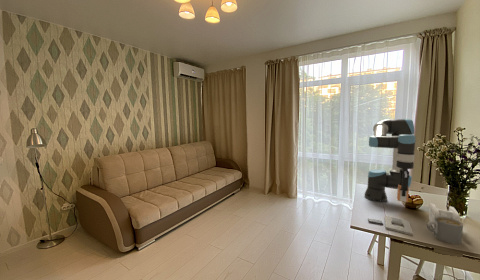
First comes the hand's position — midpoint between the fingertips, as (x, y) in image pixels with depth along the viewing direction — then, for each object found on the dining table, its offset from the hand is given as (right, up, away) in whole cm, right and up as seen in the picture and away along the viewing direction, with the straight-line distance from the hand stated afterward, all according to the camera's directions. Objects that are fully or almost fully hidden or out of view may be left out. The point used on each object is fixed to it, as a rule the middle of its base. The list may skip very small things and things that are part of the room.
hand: (402, 199), depth 113 cm
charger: (0, 0, 0) cm, 0 cm away
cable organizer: (+24, -17, +1) cm, 30 cm away
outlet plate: (-1, -17, +3) cm, 17 cm away
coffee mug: (+14, -18, -9) cm, 25 cm away
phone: (-11, -17, +7) cm, 21 cm away
